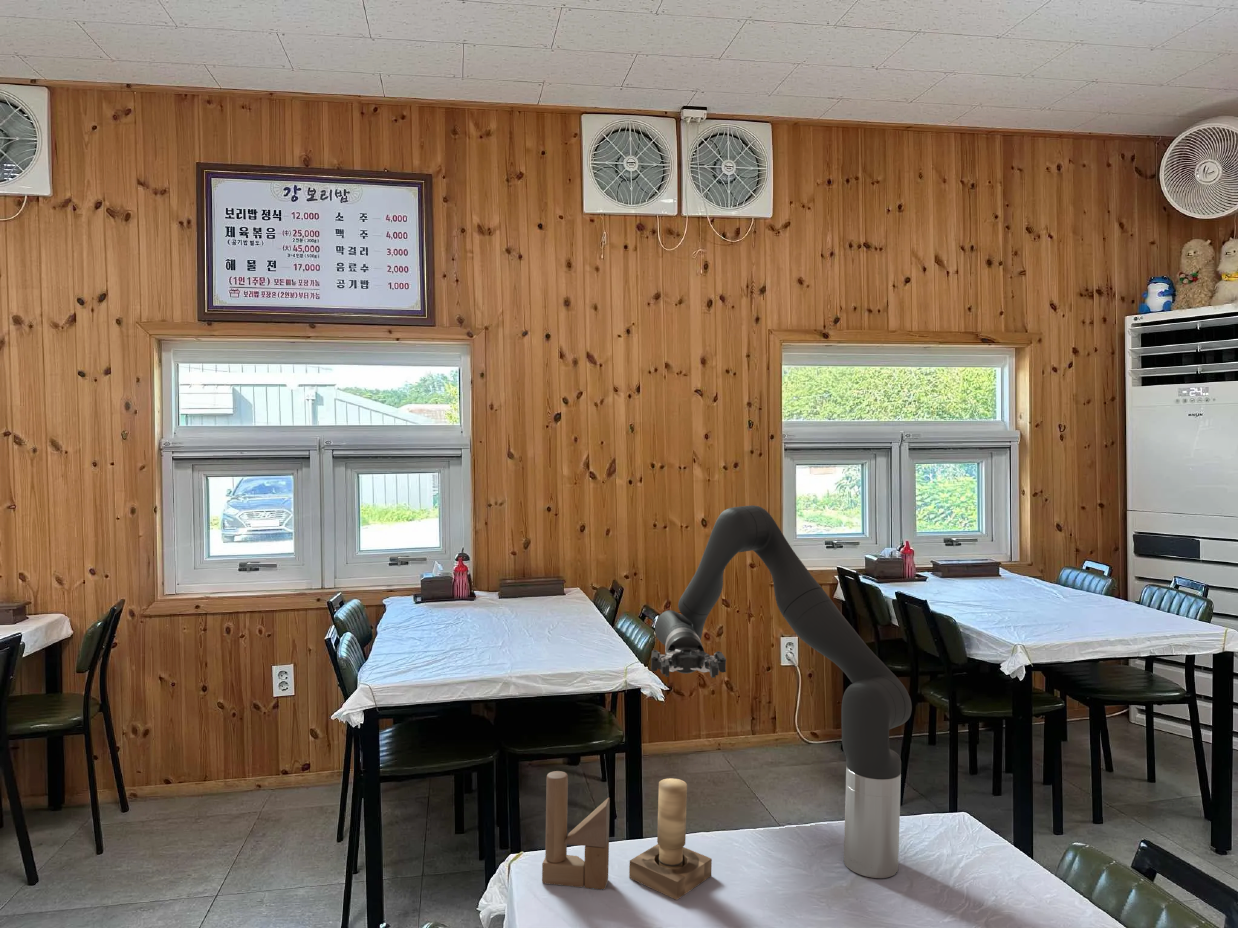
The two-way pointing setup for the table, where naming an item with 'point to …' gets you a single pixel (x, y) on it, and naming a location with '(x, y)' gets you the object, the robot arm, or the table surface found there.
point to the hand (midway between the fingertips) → (690, 671)
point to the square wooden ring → (670, 872)
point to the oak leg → (671, 822)
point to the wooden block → (574, 840)
